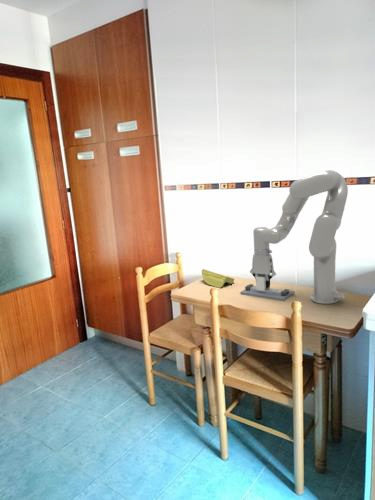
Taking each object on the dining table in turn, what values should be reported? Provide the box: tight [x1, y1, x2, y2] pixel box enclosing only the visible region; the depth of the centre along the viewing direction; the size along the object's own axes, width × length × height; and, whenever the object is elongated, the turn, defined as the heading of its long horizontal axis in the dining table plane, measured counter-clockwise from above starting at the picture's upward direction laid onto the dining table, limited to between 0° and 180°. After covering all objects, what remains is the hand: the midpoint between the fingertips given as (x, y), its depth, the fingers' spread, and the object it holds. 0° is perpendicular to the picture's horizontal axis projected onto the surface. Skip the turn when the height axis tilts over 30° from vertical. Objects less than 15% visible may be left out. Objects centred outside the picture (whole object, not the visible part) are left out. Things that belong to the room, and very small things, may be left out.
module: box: [255, 274, 271, 291], centre depth 198 cm, size 4×6×8 cm
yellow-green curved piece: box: [201, 268, 235, 289], centre depth 224 cm, size 20×7×10 cm
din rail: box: [244, 283, 290, 296], centre depth 198 cm, size 22×5×2 cm, turn 52°
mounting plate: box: [239, 287, 295, 302], centre depth 198 cm, size 24×12×1 cm, turn 52°
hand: (263, 286), depth 199 cm, fingers closed on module, 4 cm apart
